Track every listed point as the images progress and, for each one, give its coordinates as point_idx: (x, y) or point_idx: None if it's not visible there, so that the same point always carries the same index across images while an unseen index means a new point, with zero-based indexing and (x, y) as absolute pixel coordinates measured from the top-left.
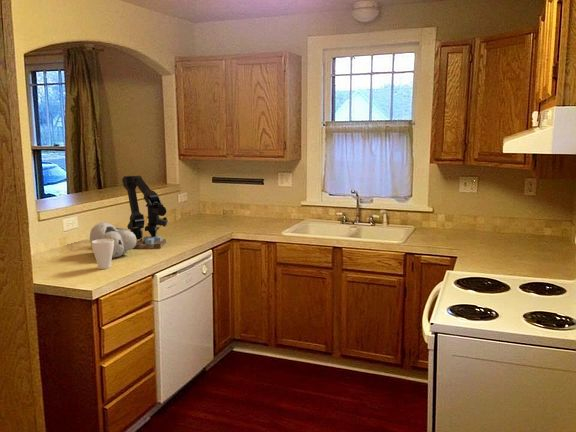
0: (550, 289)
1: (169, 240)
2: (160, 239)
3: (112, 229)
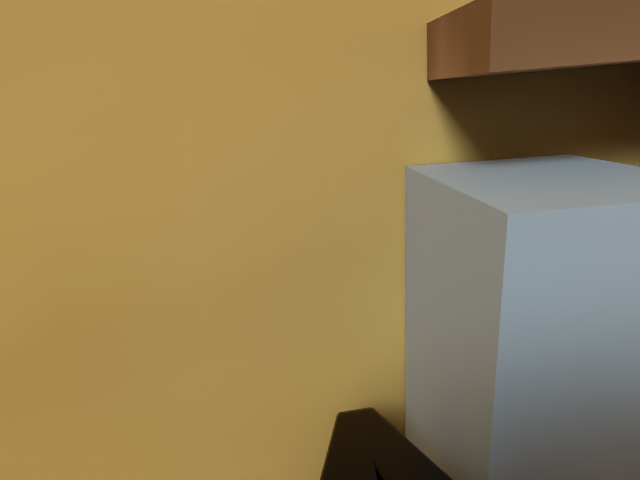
0: None
1: (9, 21)
2: (626, 177)
3: None
